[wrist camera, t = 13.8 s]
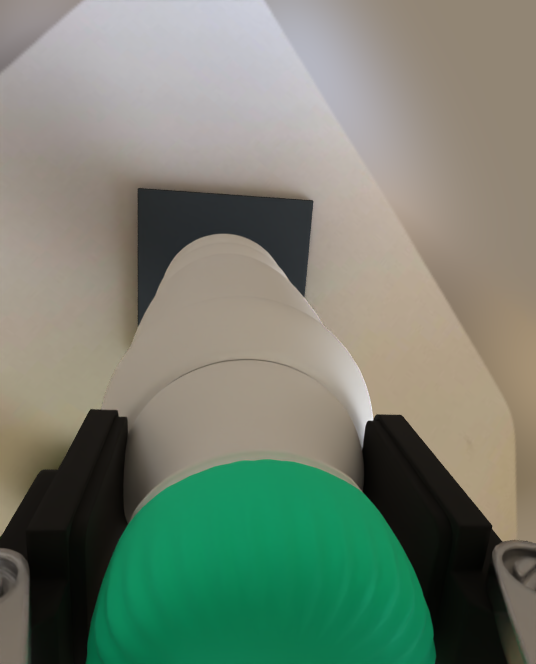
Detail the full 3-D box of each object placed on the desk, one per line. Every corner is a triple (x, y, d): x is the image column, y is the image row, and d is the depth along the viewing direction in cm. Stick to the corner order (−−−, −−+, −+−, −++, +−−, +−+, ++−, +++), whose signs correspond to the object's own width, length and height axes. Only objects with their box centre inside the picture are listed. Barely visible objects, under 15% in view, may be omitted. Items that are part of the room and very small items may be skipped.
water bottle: (277, 226, 29) (572, 417, 5) (287, 342, 31) (531, 853, 7) (154, 238, 29) (-131, 514, 5) (172, 355, 31) (36, 955, 7)
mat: (138, 188, 31) (137, 188, 31) (312, 200, 33) (313, 200, 32) (138, 355, 34) (137, 357, 34) (297, 360, 36) (298, 362, 35)
